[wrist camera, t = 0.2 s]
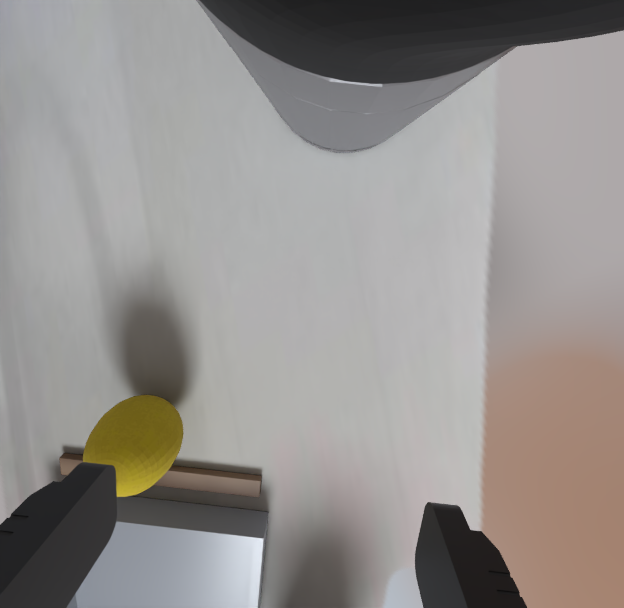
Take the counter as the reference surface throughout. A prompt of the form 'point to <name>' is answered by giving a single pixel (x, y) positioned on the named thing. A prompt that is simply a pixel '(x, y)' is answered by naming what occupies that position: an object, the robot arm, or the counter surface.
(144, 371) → the counter surface
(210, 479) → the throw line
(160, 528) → the tray
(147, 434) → the lemon
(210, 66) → the counter surface
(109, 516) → the robot arm
